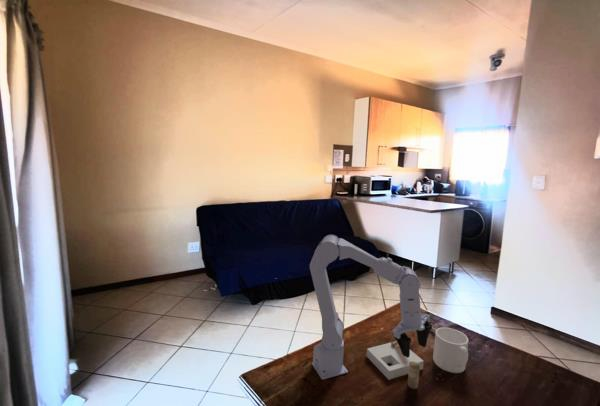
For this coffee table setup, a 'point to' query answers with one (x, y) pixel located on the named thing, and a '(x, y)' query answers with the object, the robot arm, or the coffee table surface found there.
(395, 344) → the latch
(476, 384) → the coffee table surface
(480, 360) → the coffee table surface
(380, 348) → the white flat block
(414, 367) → the peg
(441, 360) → the mug
